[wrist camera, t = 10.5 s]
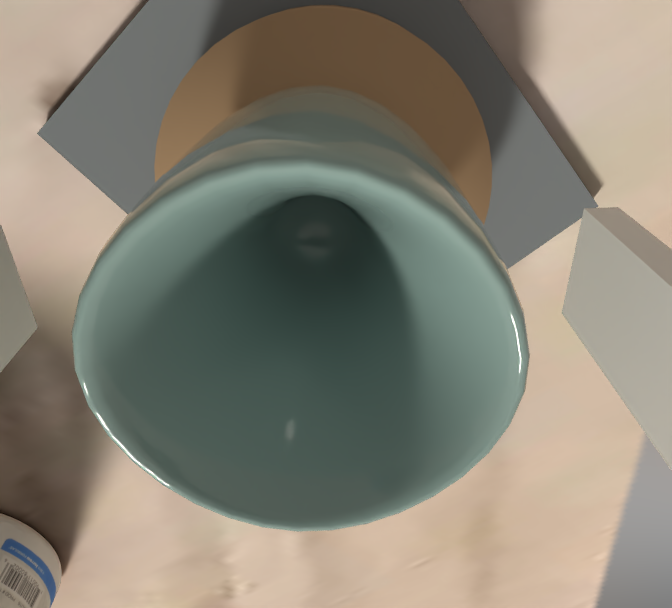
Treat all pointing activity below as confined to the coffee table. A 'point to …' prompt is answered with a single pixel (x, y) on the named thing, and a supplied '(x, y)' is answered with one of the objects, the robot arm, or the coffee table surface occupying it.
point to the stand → (320, 69)
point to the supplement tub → (26, 567)
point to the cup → (303, 319)
